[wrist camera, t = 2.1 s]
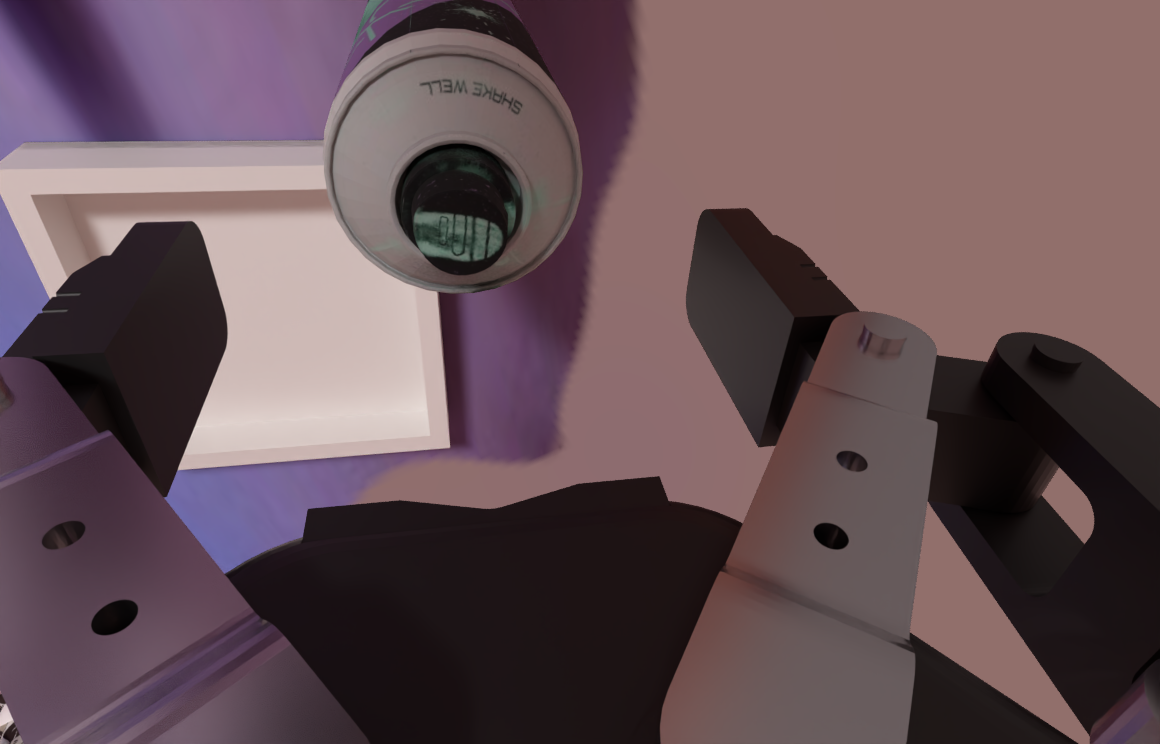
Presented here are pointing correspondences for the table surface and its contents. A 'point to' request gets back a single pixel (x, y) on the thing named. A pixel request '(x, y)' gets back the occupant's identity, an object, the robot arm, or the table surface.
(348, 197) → the spray can
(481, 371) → the table surface
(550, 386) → the table surface
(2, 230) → the table surface
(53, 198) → the tray
